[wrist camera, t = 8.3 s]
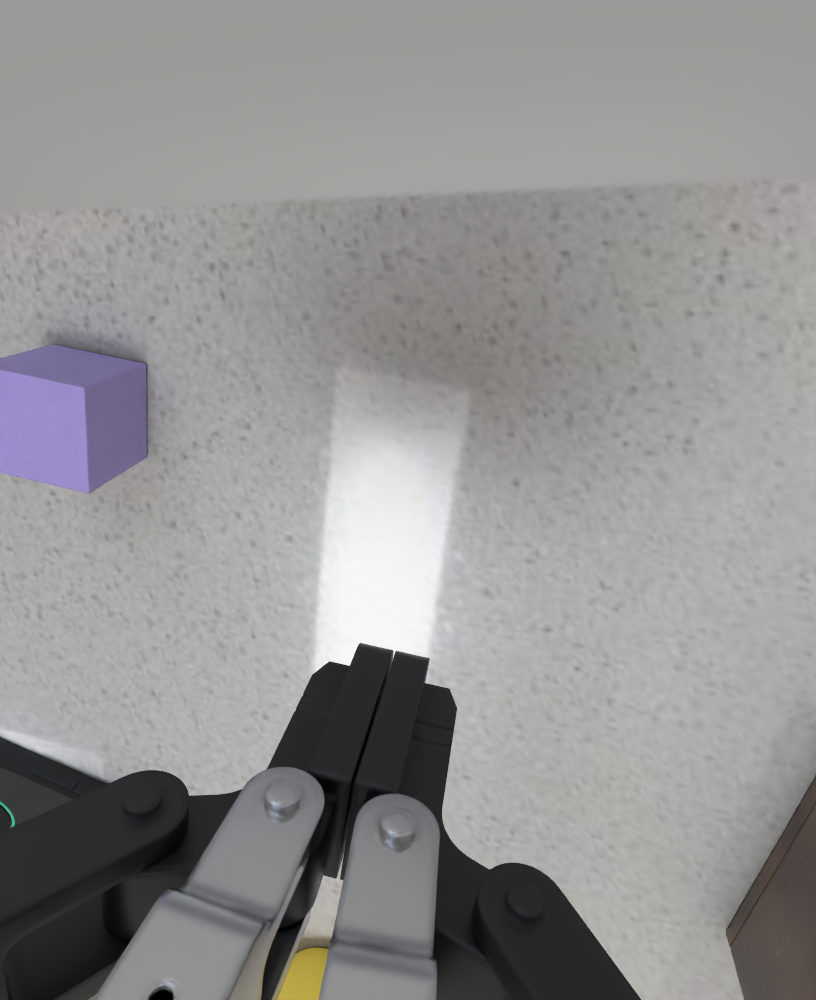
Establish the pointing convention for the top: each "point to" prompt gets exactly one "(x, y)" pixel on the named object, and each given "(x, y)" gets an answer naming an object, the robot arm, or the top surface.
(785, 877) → the cabinet
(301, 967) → the teapot
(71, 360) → the lavender cube
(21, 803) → the smart home device
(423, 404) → the top surface
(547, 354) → the top surface
